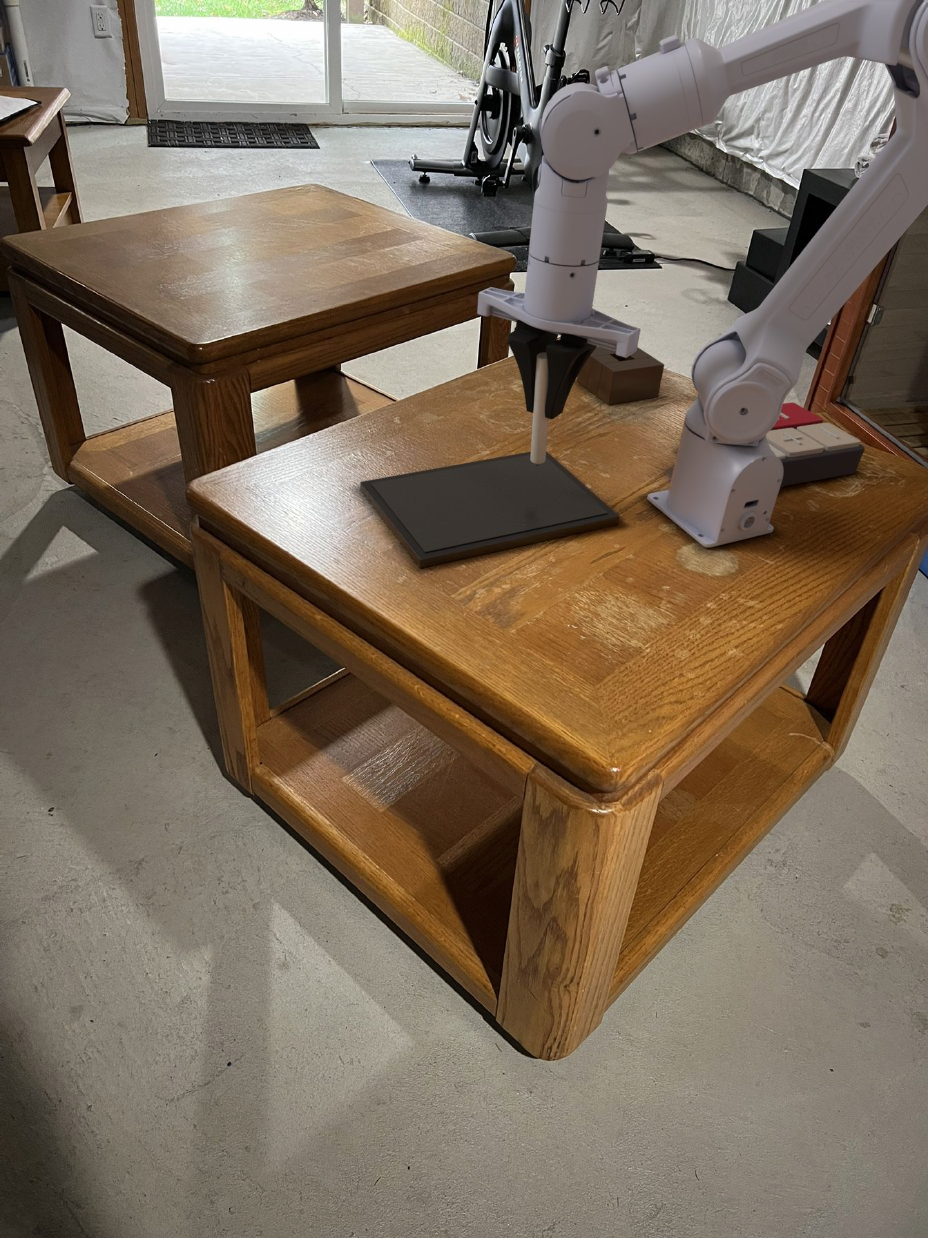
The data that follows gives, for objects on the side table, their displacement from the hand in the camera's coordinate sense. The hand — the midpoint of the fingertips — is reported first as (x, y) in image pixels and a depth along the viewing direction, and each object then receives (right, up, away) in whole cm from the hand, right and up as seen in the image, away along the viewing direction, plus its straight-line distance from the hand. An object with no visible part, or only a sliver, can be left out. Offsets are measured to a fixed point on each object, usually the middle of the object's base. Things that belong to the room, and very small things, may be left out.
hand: (544, 411), depth 84 cm
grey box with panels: (+25, -2, +14) cm, 29 cm away
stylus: (0, -4, +3) cm, 5 cm away
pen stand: (+11, +9, +27) cm, 30 cm away
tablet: (-5, -8, +3) cm, 10 cm away
